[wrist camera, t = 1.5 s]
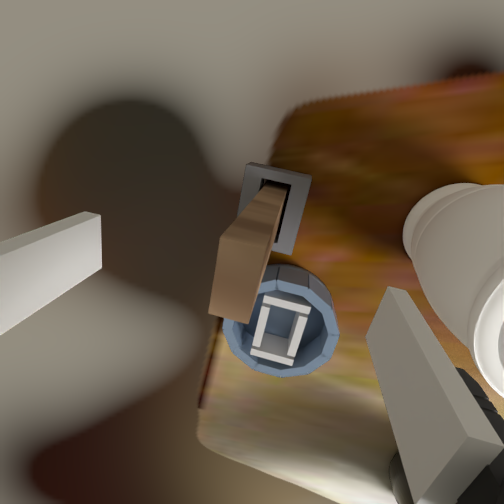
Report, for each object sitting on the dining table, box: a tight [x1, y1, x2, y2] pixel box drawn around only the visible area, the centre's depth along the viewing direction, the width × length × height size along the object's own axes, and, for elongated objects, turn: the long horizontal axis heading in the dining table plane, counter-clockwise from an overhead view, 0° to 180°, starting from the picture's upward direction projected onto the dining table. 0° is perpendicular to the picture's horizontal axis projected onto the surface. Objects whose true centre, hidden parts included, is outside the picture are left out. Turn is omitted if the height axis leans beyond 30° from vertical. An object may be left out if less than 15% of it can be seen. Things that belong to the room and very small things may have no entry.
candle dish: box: [222, 264, 340, 378], centre depth 30 cm, size 11×11×4 cm
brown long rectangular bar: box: [208, 183, 288, 324], centre depth 20 cm, size 4×2×16 cm, turn 169°
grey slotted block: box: [237, 162, 312, 255], centre depth 27 cm, size 7×6×2 cm
